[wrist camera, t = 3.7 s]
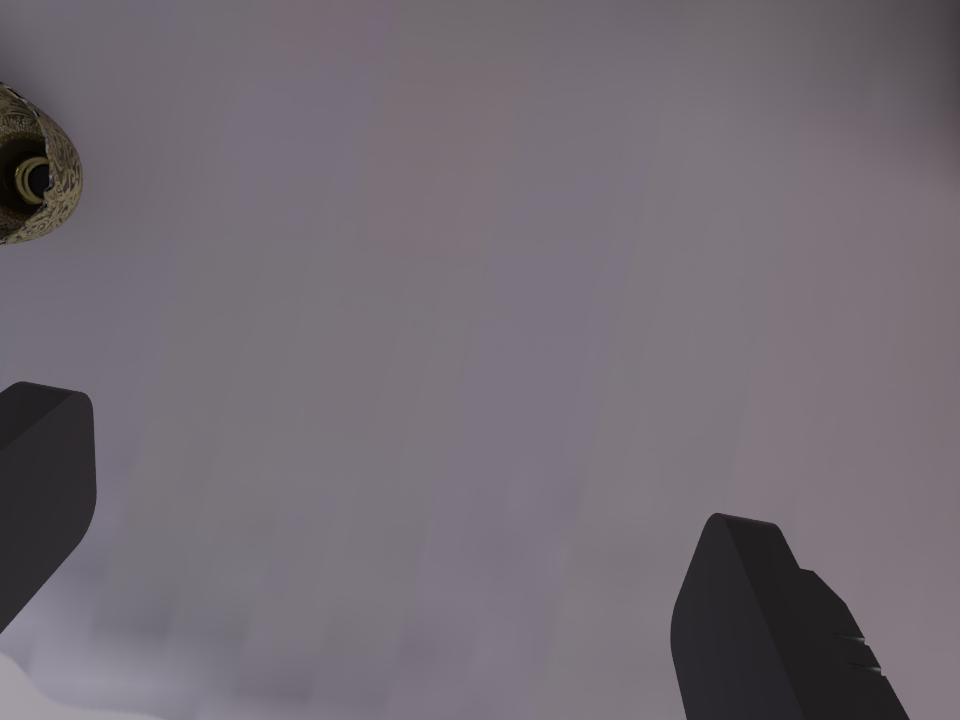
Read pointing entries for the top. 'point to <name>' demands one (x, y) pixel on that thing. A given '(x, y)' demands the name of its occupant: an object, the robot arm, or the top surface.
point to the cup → (17, 152)
